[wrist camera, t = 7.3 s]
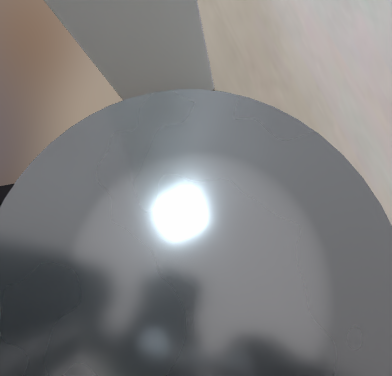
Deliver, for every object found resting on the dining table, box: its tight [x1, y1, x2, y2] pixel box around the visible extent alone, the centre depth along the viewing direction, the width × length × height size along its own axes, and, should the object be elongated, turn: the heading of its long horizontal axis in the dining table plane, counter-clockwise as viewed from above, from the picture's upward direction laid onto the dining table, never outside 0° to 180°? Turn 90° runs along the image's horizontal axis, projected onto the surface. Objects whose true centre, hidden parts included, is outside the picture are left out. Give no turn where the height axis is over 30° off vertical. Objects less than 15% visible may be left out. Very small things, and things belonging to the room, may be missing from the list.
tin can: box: [0, 89, 392, 376], centre depth 10 cm, size 7×7×12 cm
